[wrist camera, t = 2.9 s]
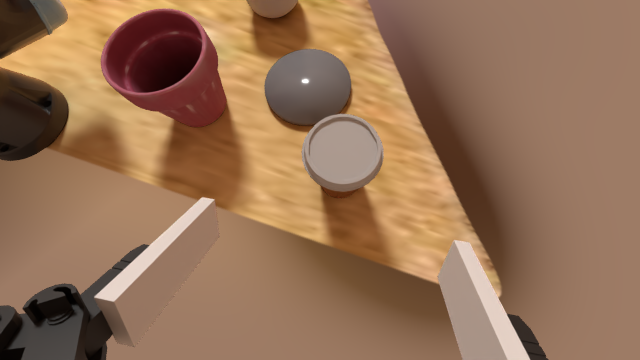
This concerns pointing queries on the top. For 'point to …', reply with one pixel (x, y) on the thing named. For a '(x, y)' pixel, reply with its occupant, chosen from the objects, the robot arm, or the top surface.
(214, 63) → the plant pot
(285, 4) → the teacup
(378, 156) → the disposable coffee cup
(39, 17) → the robot arm
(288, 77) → the gray dome
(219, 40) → the top surface
